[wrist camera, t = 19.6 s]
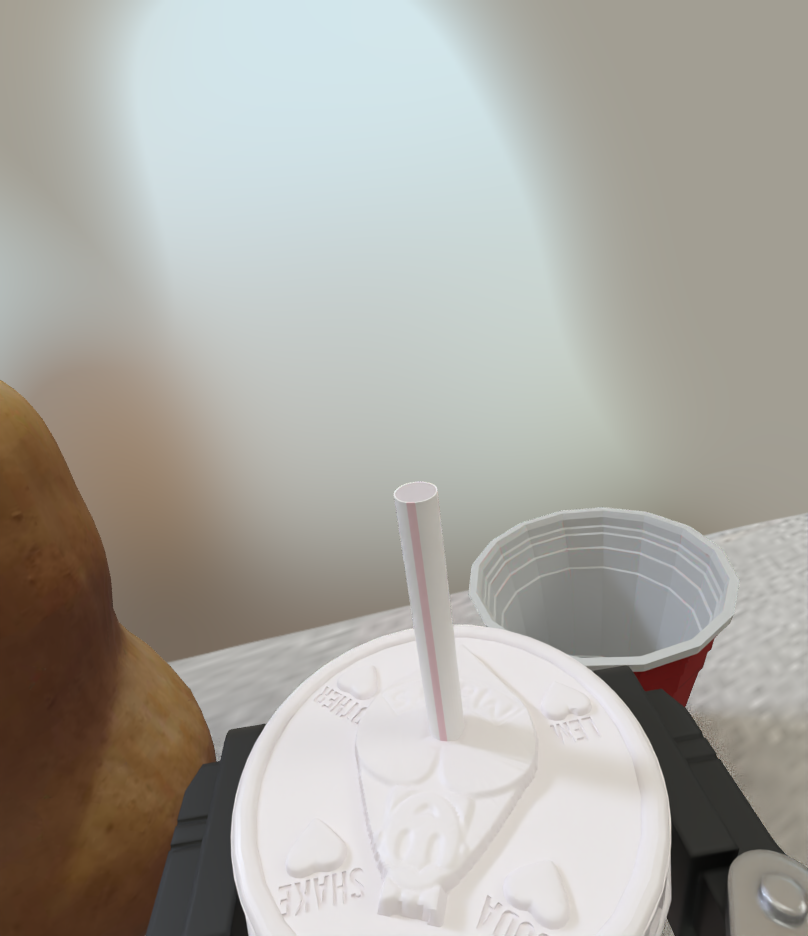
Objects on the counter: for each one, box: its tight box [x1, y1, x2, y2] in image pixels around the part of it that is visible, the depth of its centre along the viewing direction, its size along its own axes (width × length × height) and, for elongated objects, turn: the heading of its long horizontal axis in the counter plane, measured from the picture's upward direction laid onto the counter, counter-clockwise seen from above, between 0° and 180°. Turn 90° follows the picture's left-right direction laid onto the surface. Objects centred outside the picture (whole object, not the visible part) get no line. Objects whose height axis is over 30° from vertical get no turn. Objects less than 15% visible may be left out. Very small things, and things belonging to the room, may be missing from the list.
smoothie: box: [231, 482, 672, 936], centre depth 10 cm, size 6×6×14 cm
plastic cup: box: [468, 507, 740, 707], centre depth 27 cm, size 11×11×12 cm
